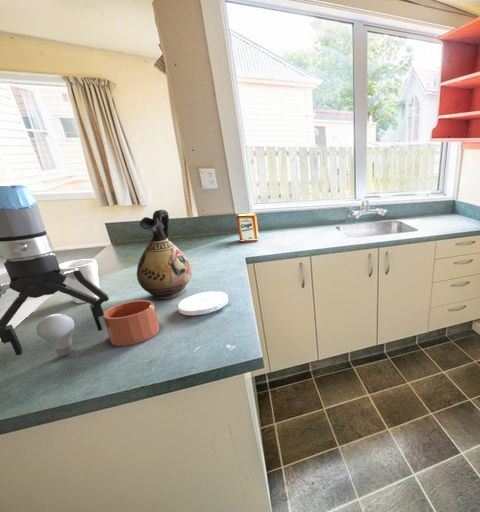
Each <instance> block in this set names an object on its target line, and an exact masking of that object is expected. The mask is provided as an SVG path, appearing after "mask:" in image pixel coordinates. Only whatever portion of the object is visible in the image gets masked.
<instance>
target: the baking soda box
mask: <svg viewBox="0 0 480 512" xmlns="http://www.w3.org/2000/svg"><path fill="white" fill-rule="evenodd" d="M236 221H237V229H238V236H239V243H254V242H257V243H258V242H259V240H260V235H259V226H258V218H257V213H238V214H237V215H236ZM258 236H259V238H258ZM257 238H258V240H246V239H257ZM240 240H244V241H240Z"/></svg>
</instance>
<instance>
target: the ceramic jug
mask: <svg viewBox="0 0 480 512" xmlns="http://www.w3.org/2000/svg"><path fill="white" fill-rule="evenodd" d="M139 225H140V227H141V228H142V230H145V231H150V232H152V236H151V238H150V241H149V242H148V244H147V246H146V247H145V249H144V250H143V252H142V254H141V256H140V258H139V260H138V263H137V266H136V267H137V268H136V279H137V282H138V284H139V286H140V287H141V288H142V289H143V290H144V291H146V292H147V293H148V294H150V295H151V299H153V300H159V301H163V300H168V299H173V298H176V297H179V296H180V295H182V294H183V293H184V290H185V288H186V286H187V285H188V284H189V282H190V281H191V278H192V275H193V273H192V272H193V271H192V267H191V264H190V262H189V260H188V257H186V255H185V254H184V253H183V252H182V251H181V250H180V249H179V248H178V247H177V245H175V243H173V242H172V241H171V240H170V237H169V235H170V234H169V229H170V217H169V213H168V211H167V210H166V209H158V210H155V211H153V214H152V218H151V217H147V216H145V217H143V218H142V219H141V220H140V222H139Z"/></svg>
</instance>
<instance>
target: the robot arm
mask: <svg viewBox="0 0 480 512" xmlns="http://www.w3.org/2000/svg"><path fill="white" fill-rule="evenodd" d="M53 251H54V248H53V245H52V242H51V239H50V237H49V234H48V233H47V230H46V226H45V223H44V221H43V218H42V215H41V212H40V209H39V206H38V202H37V200H36V199H35V197H34V195H33V192H32V191H31V188H30V187H29V186H28V185H26V184H23V183H1V184H0V258H1V259H3V260H5V261H3V266H4V268H5V270H6V273H7V275H8V277H9V280H10V282H6V283H0V299H1V298H2V295H4V294H7V290H9V289H10V290H12V291H15V292H16V293H18V295H17V296H16V298H15V299H14V300H13V301H12V303H11V304H10V306H9V307H8V308H7V310H6V311H5V312H4V314H3V315H2V316H1V317H0V341H1V343H3V344H7V343H10V344H11V347H12V349H13V351H14V353H15V355H16V356H21V355H23V346H22V344H21V342H20V340H19V338H18V335H17V333H16V331H15V329H14V327H13V325H12V324H9V323H10V322H11V320H12V319H13V318H14V316H16V314H17V312H18V311H19V310H20V308H21V307H22V305H24V303H25V302H26V301H27V299H28V298H34V299H37V298H40V297H43V296H50V295H51V296H52V295H55V293H58V292H60V293H62V294H66V295H68V296H70V297H72V296H73V297H75V298H78V299H80V300H82V301H85V302H86V303H87V304H89V309H90V311H91V314H92V317H93V320H94V322H95V325H96V328H97V331H98V332H100V331H103V327H102V324H101V321H100V318H101V317H102V318H103V315H104V311H103V308H102V304H103V303H105V302H108V301H109V300H110V298H109V296H108V294H107V293H106V292H105V291H103V290H102V289H99V288H100V287H99V288H98V287H97V286H95V285H94V284H93V283H92V282H90V281H89V280H88V279H87V278H85V277H84V276H83V274H82V272H81V270H80V269H79V268H75V269H74V270H73V271H69V272H65V273H64V272H62V271H61V269H60V267H59V264H60V263H59V261H58V259H57V256H56V254H55V253H53ZM66 277H70V278H71V279H73V280H76V279H77V280H78V281H79V282H80V283H81V284H82V285H83V286H85V287H86V288H87V289H89V290H90V291H91V292H92V293H94V294H95V295H96V296H98V297H99V298H95V297H92V296H90V295H88V294H86V293H83V292H81V291H79V290H76V289H74V288H72V287H70V286H68V285H66V284H64V281H65V279H66Z"/></svg>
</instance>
